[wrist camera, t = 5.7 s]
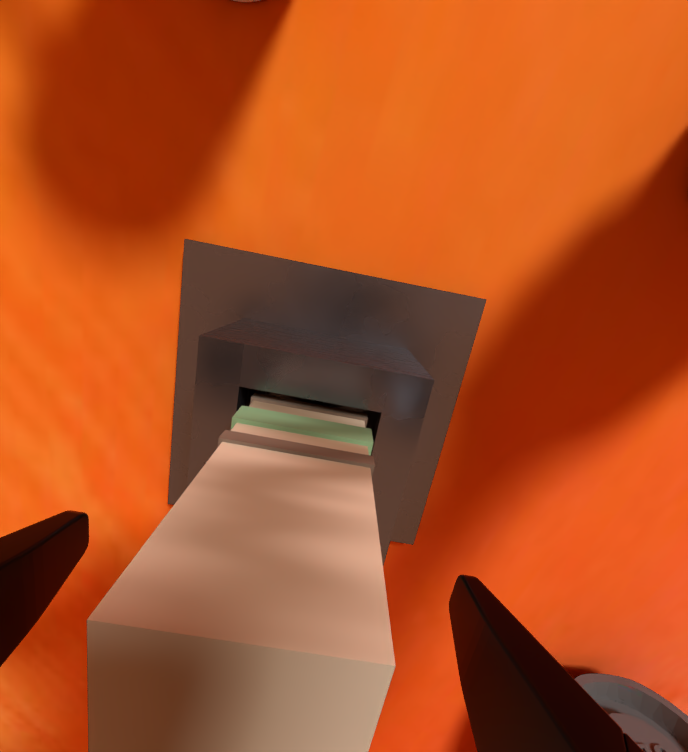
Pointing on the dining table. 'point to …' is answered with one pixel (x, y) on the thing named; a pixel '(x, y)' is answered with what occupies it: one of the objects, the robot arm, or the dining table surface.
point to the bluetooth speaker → (639, 712)
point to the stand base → (321, 363)
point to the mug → (246, 0)
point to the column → (253, 600)
